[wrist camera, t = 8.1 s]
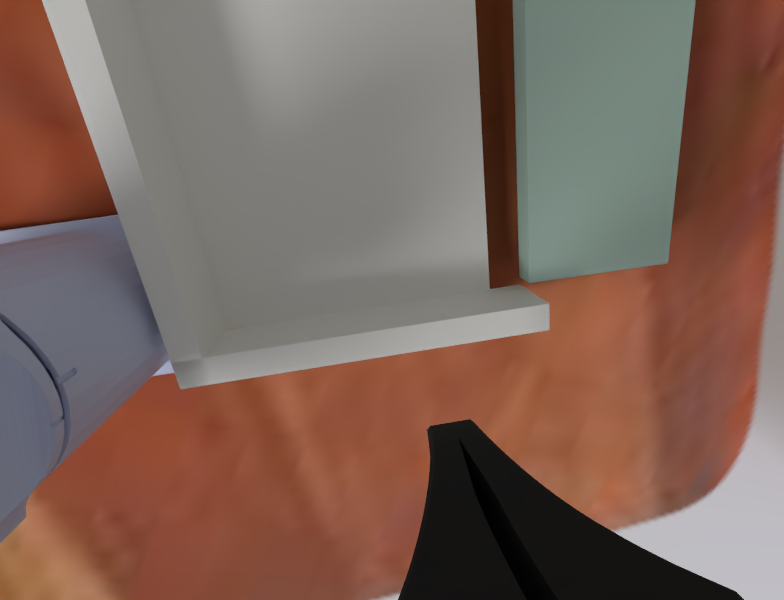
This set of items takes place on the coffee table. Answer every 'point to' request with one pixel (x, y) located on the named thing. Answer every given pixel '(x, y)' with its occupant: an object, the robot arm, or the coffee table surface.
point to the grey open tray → (294, 176)
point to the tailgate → (597, 132)
